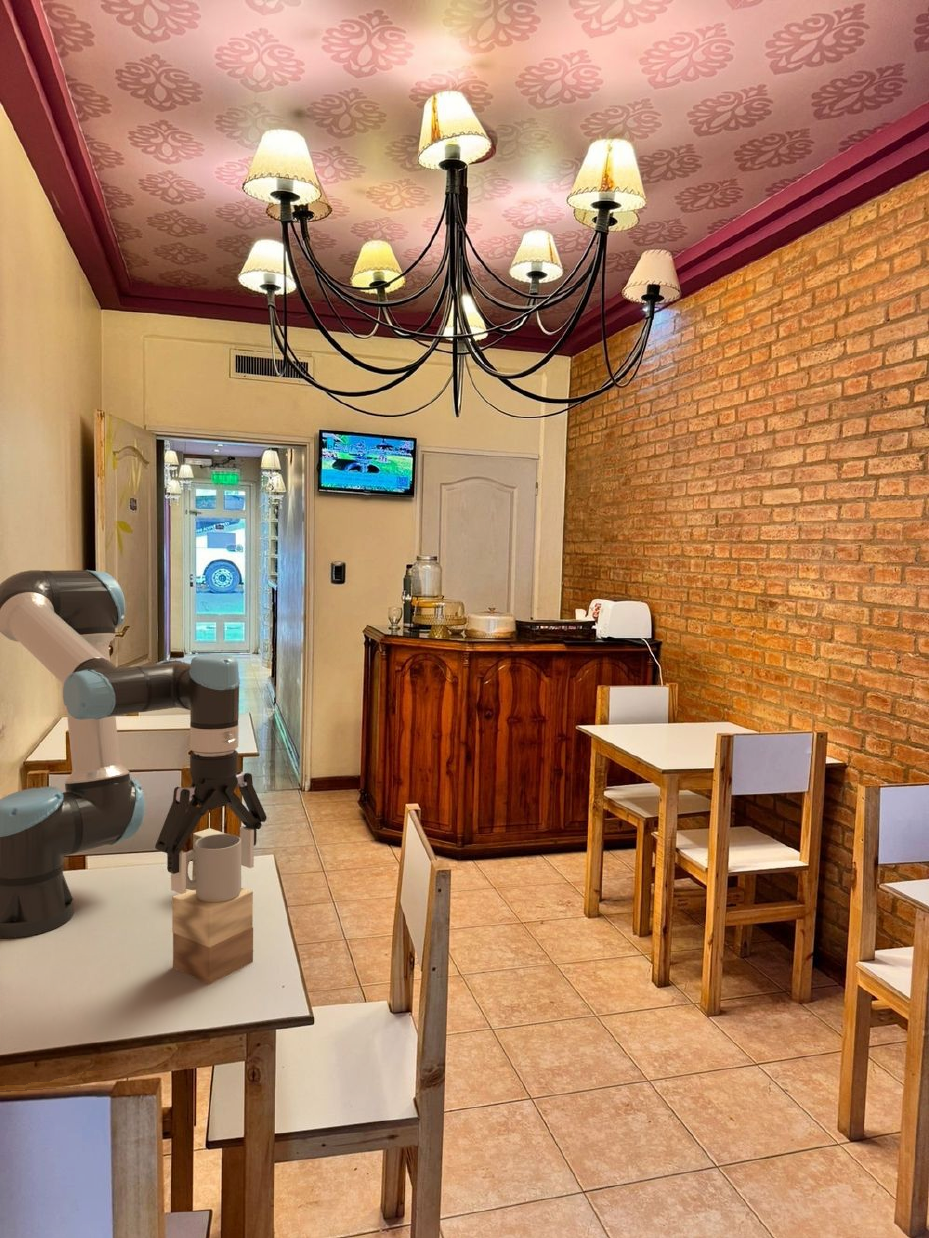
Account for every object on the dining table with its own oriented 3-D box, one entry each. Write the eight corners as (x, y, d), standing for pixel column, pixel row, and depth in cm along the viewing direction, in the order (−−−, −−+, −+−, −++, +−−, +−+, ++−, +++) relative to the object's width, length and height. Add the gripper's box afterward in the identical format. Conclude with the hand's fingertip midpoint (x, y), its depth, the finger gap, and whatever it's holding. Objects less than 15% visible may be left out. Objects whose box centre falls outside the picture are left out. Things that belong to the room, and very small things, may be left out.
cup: (243, 900, 131) (243, 846, 130) (178, 908, 128) (177, 853, 127) (239, 882, 138) (239, 831, 137) (177, 890, 134) (176, 838, 134)
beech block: (172, 932, 132) (172, 896, 132) (215, 912, 140) (216, 879, 139) (209, 947, 127) (209, 910, 127) (252, 926, 135) (252, 891, 135)
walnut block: (172, 967, 133) (173, 932, 132) (217, 946, 140) (217, 913, 140) (209, 984, 128) (209, 948, 127) (252, 961, 135) (253, 927, 135)
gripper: (161, 769, 119) (161, 909, 120) (288, 741, 139) (286, 861, 141) (131, 761, 123) (131, 896, 125) (258, 735, 144) (257, 851, 145)
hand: (213, 878), depth 133 cm, fingers open, 13 cm apart
